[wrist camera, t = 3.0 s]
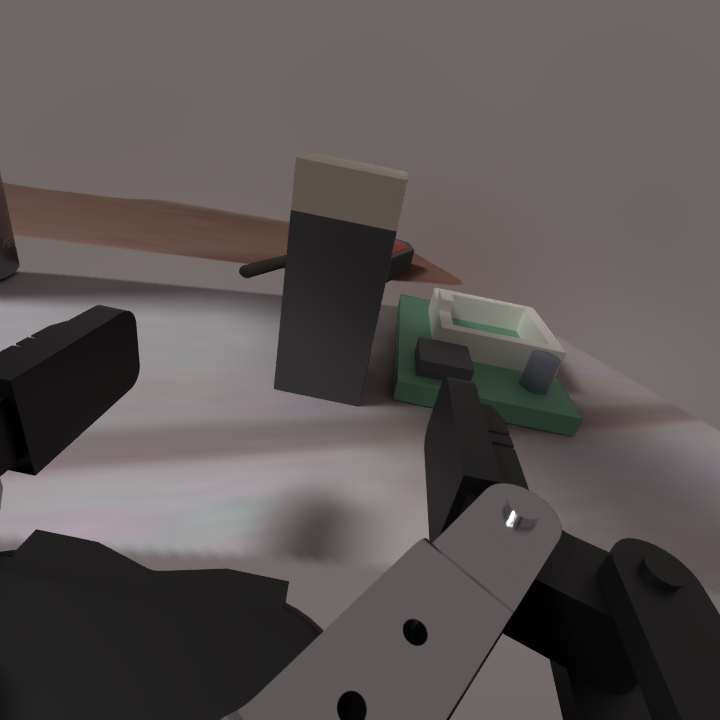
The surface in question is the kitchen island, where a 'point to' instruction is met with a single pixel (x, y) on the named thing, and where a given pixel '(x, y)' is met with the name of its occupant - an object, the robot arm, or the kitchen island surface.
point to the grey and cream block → (335, 274)
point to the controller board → (482, 357)
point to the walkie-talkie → (397, 266)
